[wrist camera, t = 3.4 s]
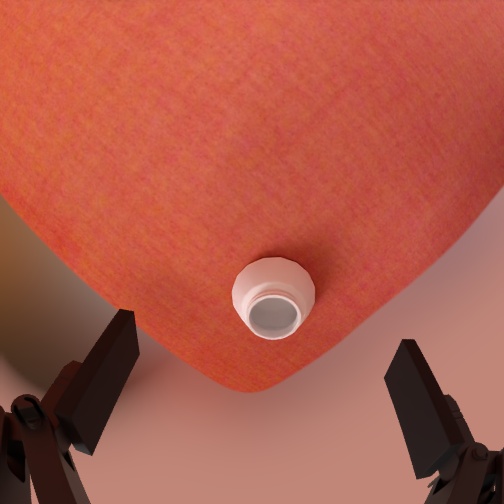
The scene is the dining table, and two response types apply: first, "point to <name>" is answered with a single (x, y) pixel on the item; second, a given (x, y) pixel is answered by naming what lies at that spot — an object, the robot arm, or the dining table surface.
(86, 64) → the dining table surface
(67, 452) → the robot arm
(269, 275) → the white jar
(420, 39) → the dining table surface
